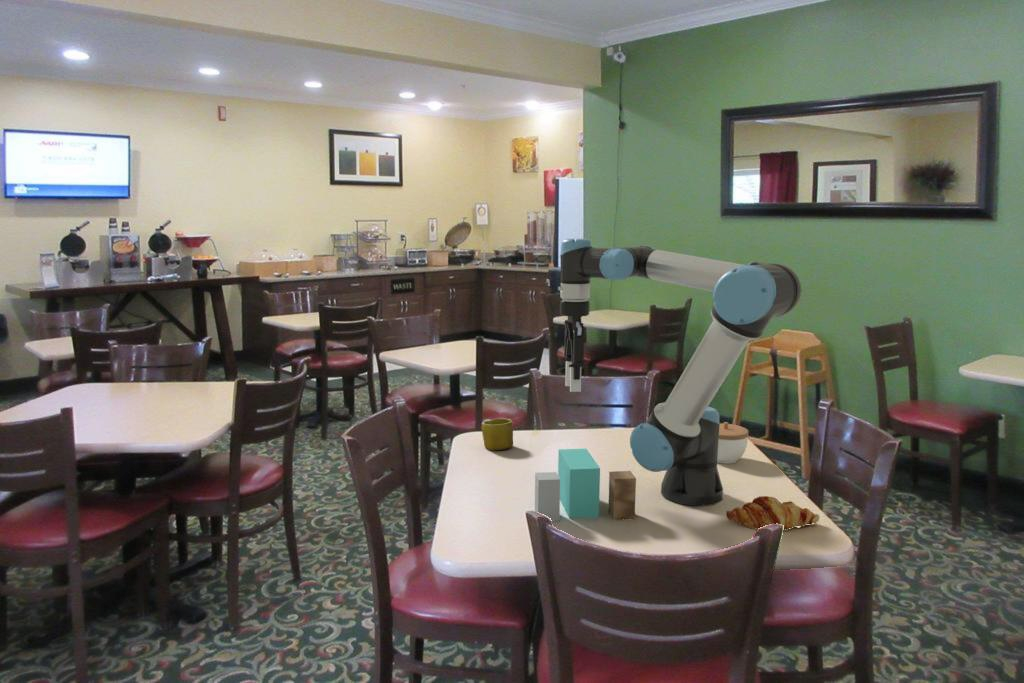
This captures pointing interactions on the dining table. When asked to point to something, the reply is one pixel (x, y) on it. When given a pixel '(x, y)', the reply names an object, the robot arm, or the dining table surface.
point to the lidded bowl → (731, 443)
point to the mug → (497, 434)
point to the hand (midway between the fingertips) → (573, 388)
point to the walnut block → (622, 495)
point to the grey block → (547, 494)
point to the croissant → (771, 514)
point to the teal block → (579, 483)
